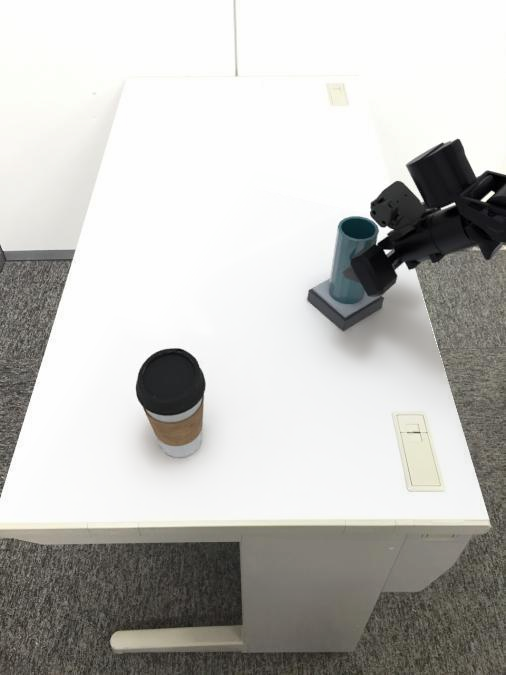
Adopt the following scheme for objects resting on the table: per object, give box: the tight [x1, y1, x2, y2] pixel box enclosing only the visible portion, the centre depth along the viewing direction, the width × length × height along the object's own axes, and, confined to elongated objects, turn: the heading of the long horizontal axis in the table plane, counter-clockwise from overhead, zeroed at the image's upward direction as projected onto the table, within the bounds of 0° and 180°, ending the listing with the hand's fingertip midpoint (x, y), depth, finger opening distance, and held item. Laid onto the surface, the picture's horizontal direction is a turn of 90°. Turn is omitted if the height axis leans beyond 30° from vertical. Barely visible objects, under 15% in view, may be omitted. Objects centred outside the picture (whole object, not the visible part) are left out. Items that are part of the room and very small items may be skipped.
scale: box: [306, 278, 385, 332], centre depth 90 cm, size 9×9×3 cm
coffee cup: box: [135, 347, 207, 459], centre depth 68 cm, size 8×8×15 cm
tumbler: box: [329, 215, 380, 304], centre depth 84 cm, size 6×6×13 cm
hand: (361, 259), depth 82 cm, fingers open, 9 cm apart
